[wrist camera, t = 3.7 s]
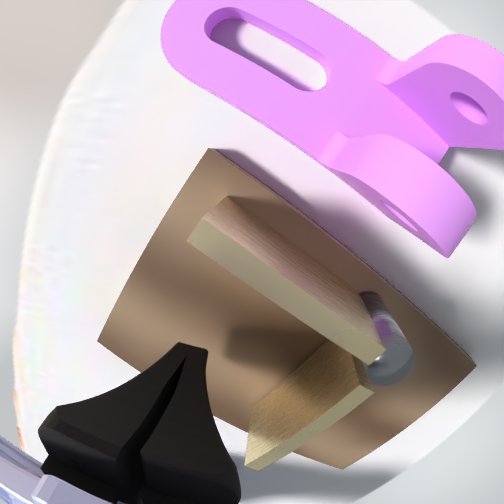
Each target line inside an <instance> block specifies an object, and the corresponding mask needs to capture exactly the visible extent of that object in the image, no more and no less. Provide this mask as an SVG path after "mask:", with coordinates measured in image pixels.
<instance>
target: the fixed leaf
mask: <svg viewBox="0 0 504 504" xmlns="http://www.w3.org/2000/svg"><path fill="white" fill-rule="evenodd" d="M187 242H188V243H190V244H191V245H192V246H194V247H195V248H197V249H198V250H199V251H201V252H202V253H204V254H205V255H207V256H208V257H209V258H211V259H212V260H214V261H215V262H216V263H218V264H219V265H221V266H222V267H224V268H225V269H226V270H228V271H229V272H231V273H232V274H234V275H235V276H236V277H238V278H239V279H241V280H242V281H244V282H245V283H246V284H248V285H249V286H251V287H252V288H254V289H255V290H257V291H258V292H260V293H261V294H262V295H264V296H265V297H267V298H268V299H270V300H271V301H273V302H274V303H276V304H277V305H279V306H280V307H281V308H283V309H284V310H286V311H287V312H289V313H290V314H292V315H293V316H295V317H296V318H298V319H299V320H301V321H302V322H304V323H305V324H307V325H308V326H310V327H311V328H313V329H314V330H316V331H317V332H319V333H320V334H322V335H323V336H325V337H326V338H328V339H329V340H331V341H332V342H334V343H335V344H337V345H339V346H340V347H342V348H343V349H345V350H346V351H348V352H349V353H351V354H352V355H354V356H355V357H357V358H359V359H360V360H362V361H363V364H364V367H365V370H366V373H367V376H368V378H369V380H370V381H371V382H372V383H373V384H375V385H378V386H389V385H393V384H396V383H398V382H400V381H401V380H403V379H404V378H405V377H407V376H408V375H409V373H410V372H411V371H412V369H413V368H414V365H415V361H416V357H415V354H414V352H413V350H412V348H411V346H410V345H409V343H408V341H407V340H406V338H405V336H404V334H403V333H402V331H401V329H400V328H399V326H398V324H397V323H396V321H395V319H394V318H393V316H392V314H391V313H390V311H389V309H388V308H387V306H386V304H385V303H384V301H383V300H382V298H381V297H380V296H379V295H378V294H377V293H375V292H372V291H364V292H361V293H358V292H357V291H356V290H354V289H353V288H352V287H350V286H349V285H348V284H346V283H345V282H344V281H343V280H341V279H340V278H339V277H337V276H336V275H335V274H333V273H332V272H331V271H329V270H328V269H327V268H326V267H324V266H323V265H322V264H320V263H319V262H318V261H316V260H315V259H314V258H312V257H311V256H310V255H308V254H307V253H306V252H304V251H303V250H302V249H300V248H299V247H298V246H296V245H295V244H294V243H292V242H291V241H290V240H288V239H287V238H286V237H284V236H283V235H281V234H280V233H279V232H277V231H276V230H275V229H273V228H272V227H271V226H269V225H268V224H267V223H265V222H264V221H262V220H261V219H260V218H258V217H257V216H256V215H254V214H253V213H251V212H250V211H249V210H247V209H246V208H244V207H243V206H242V205H240V204H239V203H238V202H236V201H235V200H233V199H232V198H231V197H229V196H228V195H227V196H226V197H225V198H224V199H223V200H221V201H220V202H219V203H218V204H217V205H216V206H215V207H213V208H212V209H211V210H210V211H209V212H208V213H207V214H205V215H204V216H203V217H202V218H201V220H200V221H199V222H198V224H197V225H196V227H195V228H194V230H193V231H192V233H191V234H190V236H189V237H188V239H187Z"/></svg>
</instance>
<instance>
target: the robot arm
mask: <svg viewBox="0 0 504 504" xmlns="http://www.w3.org/2000/svg"><path fill="white" fill-rule="evenodd" d="M208 353H209V352H208V350H207V349H204V348H200V347H196V346H192V345H189V344H185V343H181V342H178V343H176V344H175V345H174V346H173V347H172V348H171V349H170V350H169V351H168V352H167V353H166V354H165V355H163V356H162V357H161V358H160V359H159V360H158V361H156V362H155V363H154V364H153V365H151V366H150V367H149V368H147V369H146V370H145V371H143V372H142V373H140V374H139V375H137V376H136V377H134V378H133V379H131V380H129V381H128V382H126V383H124V384H122V385H121V386H119V387H117V388H115V389H112V390H110V391H108V392H106V393H104V394H101V395H99V396H96V397H93V398H90V399H87V400H84V401H80V402H76V403H71V404H66V405H61V406H56V408H55V409H54V410H53V411H52V412H51V413H50V414H49V415H48V416H47V418H46V419H45V420H44V422H43V423H42V425H41V426H40V427H39V429H38V434H39V437H40V440H41V441H42V443H43V445H44V447H45V449H46V451H47V453H48V454H49V455H48V457H47V458H46V460H45V461H44V463H43V464H42V463H41V462H39V461H37V460H36V459H34V458H33V457H31V456H29V455H28V454H26V453H25V452H23V451H22V450H20V449H19V448H17V447H16V446H14V445H13V444H12V443H10V442H9V441H7V440H6V439H5V438H3V437H2V436H0V498H1V499H3V500H4V501H5V502H6V503H8V504H238V503H239V501H240V499H241V486H240V481H239V477H238V473H237V468H236V466H235V464H234V462H233V461H232V459H231V457H230V455H229V454H228V452H227V450H226V448H225V446H224V444H223V442H222V439H221V437H220V434H219V432H218V429H217V427H216V424H215V421H214V418H213V414H212V411H211V407H210V402H209V397H208V391H207V383H206V365H207V359H208Z"/></svg>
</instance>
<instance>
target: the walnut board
mask: <svg viewBox="0 0 504 504" xmlns="http://www.w3.org/2000/svg"><path fill="white" fill-rule="evenodd" d="M227 195H228V196H229V197H231V198H232V199H233V200H235V201H236V202H238V203H239V204H240V205H242V206H243V207H244V208H246V209H247V210H249V211H250V212H251V213H253V214H254V215H256V216H257V217H258V218H260V219H261V220H262V221H264V222H265V223H267V224H268V225H269V226H271V227H272V228H273V229H275V230H276V231H277V232H279V233H280V234H281V235H283V236H284V237H286V238H287V239H288V240H290V241H291V242H292V243H294V244H295V245H296V246H298V247H299V248H300V249H302V250H303V251H304V252H306V253H307V254H308V255H310V256H311V257H312V258H314V259H315V260H316V261H318V262H319V263H320V264H322V265H323V266H324V267H326V268H327V269H328V270H329V271H331V272H332V273H333V274H335V275H336V276H337V277H339V278H340V279H341V280H343V281H344V282H345V283H346V284H348V285H349V286H350V287H352V288H353V289H354V290H356V291H357V292H358V293H361V292H364V291H372V292H375V293H377V294H378V295H379V296H380V297H381V298H382V300H383V301H384V303H385V304H386V306H387V308H388V309H389V311H390V313H391V314H392V316H393V318H394V319H395V321H396V323H397V324H398V326H399V328H400V329H401V331H402V333H403V334H404V336H405V338H406V340H407V341H408V343H409V345H410V346H411V348H412V350H413V352H414V354H415V357H416V361H415V365H414V368H413V369H412V371H411V372H410V373H409V375H408V376H407V377H405V378H404V379H403V380H401V381H400V382H398V383H396V384H393V385H389V386H378V385H375V384H373V383H372V382H371V385H372V388H373V391H374V393H373V394H372V395H371V396H370V397H368V398H367V399H366V400H365V401H363V402H362V403H361V404H360V405H358V406H357V407H356V408H354V409H353V410H352V411H351V412H349V413H348V414H347V415H345V416H344V417H343V418H341V419H340V420H338V421H337V422H336V423H334V424H333V425H332V426H330V427H329V428H327V429H326V430H324V431H323V432H322V433H320V434H319V435H317V436H316V437H314V438H313V439H311V440H310V441H308V442H307V443H305V444H303V445H302V446H300V447H299V448H297V449H296V450H294V451H292V452H294V453H297V454H299V455H302V456H305V457H307V458H310V459H313V460H316V461H319V462H321V463H324V464H327V465H330V466H333V467H336V468H339V469H344V468H346V467H348V466H350V465H351V464H353V463H355V462H356V461H358V460H360V459H361V458H363V457H364V456H366V455H368V454H369V453H371V452H372V451H374V450H375V449H377V448H378V447H380V446H381V445H383V444H384V443H386V442H387V441H389V440H390V439H392V438H393V437H394V436H396V435H397V434H399V433H400V432H401V431H403V430H404V429H405V428H407V427H408V426H409V425H411V424H412V423H413V422H415V421H416V420H417V419H418V418H420V417H421V416H422V415H423V414H425V413H426V412H427V411H428V410H430V409H431V408H432V407H433V406H434V405H435V404H437V403H438V402H439V401H440V400H441V399H442V398H444V397H445V396H446V395H447V394H448V393H449V392H450V391H451V390H452V389H454V388H455V387H456V386H457V385H458V384H459V383H460V382H461V381H462V380H463V379H464V378H465V377H466V376H467V375H468V374H469V373H470V372H471V371H472V370H473V369H474V368H475V367H476V364H475V363H474V362H473V360H472V359H471V358H470V356H469V355H468V354H467V353H466V352H464V351H463V350H462V349H461V348H460V347H459V346H458V345H457V344H456V343H455V342H454V341H453V340H452V339H451V338H450V337H449V336H448V335H447V334H446V333H445V332H443V331H442V330H441V329H440V328H439V327H438V326H437V325H436V324H435V323H434V322H433V321H432V320H430V319H429V318H428V317H427V316H426V315H425V314H424V313H423V312H422V311H421V310H419V309H418V308H417V307H416V306H415V305H414V304H413V303H412V302H410V301H409V300H408V299H407V298H406V297H405V296H404V295H403V294H401V293H400V292H399V291H398V290H397V289H396V288H394V287H393V286H392V285H391V284H390V283H389V282H387V281H386V280H385V279H384V278H383V277H382V276H380V275H379V274H378V273H377V272H376V271H375V270H373V269H372V268H371V267H370V266H369V265H367V264H366V263H365V262H364V261H363V260H361V259H360V258H359V257H358V256H356V255H355V254H354V253H353V252H352V251H350V250H349V249H348V248H347V247H345V246H344V245H343V244H342V243H340V242H339V241H338V240H337V239H335V238H334V237H333V236H332V235H330V234H329V233H328V232H327V231H325V230H324V229H323V228H322V227H320V226H319V225H318V224H316V223H315V222H314V221H313V220H311V219H310V218H309V217H307V216H306V215H305V214H303V213H302V212H301V211H300V210H298V209H297V208H296V207H294V206H293V205H292V204H290V203H289V202H288V201H286V200H285V199H284V198H282V197H281V196H280V195H278V194H277V193H276V192H274V191H273V190H271V189H270V188H269V187H267V186H266V185H265V184H263V183H262V182H261V181H259V180H258V179H256V178H255V177H254V176H252V175H251V174H249V173H248V172H247V171H245V170H244V169H242V168H241V167H240V166H238V165H237V164H235V163H234V162H232V161H231V160H230V159H228V158H227V157H225V156H224V155H222V154H221V153H220V152H218V151H217V150H215V149H213V148H208V150H207V151H206V153H205V154H204V156H203V157H202V159H201V160H200V161H199V163H198V164H197V166H196V167H195V169H194V170H193V172H192V173H191V175H190V176H189V178H188V180H187V181H186V183H185V184H184V186H183V187H182V189H181V190H180V192H179V193H178V195H177V197H176V198H175V200H174V201H173V203H172V205H171V206H170V208H169V209H168V211H167V213H166V214H165V216H164V218H163V219H162V221H161V223H160V224H159V226H158V228H157V229H156V231H155V233H154V234H153V236H152V238H151V239H150V241H149V243H148V245H147V246H146V248H145V250H144V252H143V253H142V255H141V257H140V259H139V261H138V262H137V264H136V266H135V268H134V270H133V271H132V273H131V275H130V277H129V279H128V281H127V282H126V284H125V286H124V288H123V290H122V292H121V294H120V296H119V298H118V300H117V302H116V304H115V305H114V307H113V309H112V311H111V313H110V315H109V317H108V319H107V321H106V324H105V326H104V328H103V330H102V332H101V334H100V336H99V338H98V340H97V341H98V342H99V343H100V344H102V345H103V346H104V347H106V348H107V349H108V350H110V351H111V352H113V353H114V354H115V355H117V356H118V357H120V358H121V359H122V360H124V361H125V362H127V363H128V364H129V365H131V366H132V367H134V368H135V369H137V370H138V371H140V372H141V373H142V372H143V371H145V370H146V369H147V368H149V367H150V366H151V365H153V364H154V363H155V362H156V361H158V360H159V359H160V358H161V357H162V356H163V355H165V354H166V353H167V352H168V351H169V350H170V349H171V348H172V347H173V346H174V345H175V344H176V343H178V342H181V343H185V344H189V345H192V346H196V347H200V348H204V349H207V350H208V352H209V353H208V359H207V365H206V383H207V391H208V397H209V402H210V407H211V411H212V414H213V415H214V416H215V417H217V418H219V419H221V420H223V421H225V422H227V423H229V424H231V425H233V426H235V427H237V428H239V429H241V430H243V431H246V432H248V433H249V425H250V417H251V409H252V407H254V406H255V405H256V404H257V403H258V402H260V401H261V400H262V399H263V398H264V397H266V396H267V395H268V394H269V393H270V392H272V391H273V390H274V389H275V388H276V387H277V386H278V385H280V384H281V383H282V382H283V381H284V380H285V379H286V378H288V377H289V376H290V375H291V374H292V373H293V372H294V371H295V370H296V369H298V368H299V367H300V366H301V365H302V364H303V363H304V362H305V361H306V360H307V359H308V358H309V357H310V356H312V355H313V354H314V353H315V352H316V351H317V350H318V349H319V348H320V347H321V346H322V345H323V344H324V343H325V342H326V341H327V340H328V338H326V337H325V336H323V335H322V334H320V333H319V332H317V331H316V330H314V329H313V328H311V327H310V326H308V325H307V324H305V323H304V322H302V321H301V320H299V319H298V318H296V317H295V316H293V315H292V314H290V313H289V312H287V311H286V310H284V309H283V308H281V307H280V306H279V305H277V304H276V303H274V302H273V301H271V300H270V299H268V298H267V297H265V296H264V295H262V294H261V293H260V292H258V291H257V290H255V289H254V288H252V287H251V286H249V285H248V284H246V283H245V282H244V281H242V280H241V279H239V278H238V277H236V276H235V275H234V274H232V273H231V272H229V271H228V270H226V269H225V268H224V267H222V266H221V265H219V264H218V263H216V262H215V261H214V260H212V259H211V258H209V257H208V256H207V255H205V254H204V253H202V252H201V251H199V250H198V249H197V248H195V247H194V246H192V245H191V244H190V243H188V242H187V239H188V237H189V236H190V234H191V233H192V231H193V230H194V228H195V227H196V225H197V224H198V222H199V221H200V220H201V218H202V217H203V216H204V215H205V214H207V213H208V212H209V211H210V210H211V209H212V208H213V207H215V206H216V205H217V204H218V203H219V202H220V201H221V200H223V199H224V198H225V197H226V196H227Z"/></svg>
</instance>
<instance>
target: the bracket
mask: <svg viewBox="0 0 504 504" xmlns="http://www.w3.org/2000/svg"><path fill="white" fill-rule="evenodd" d="M231 18H236V19H241V20H244V21H246V22H248V23H250V24H252V25H254V26H256V27H258V28H260V29H262V30H263V31H265V32H267V33H269V34H271V35H273V36H275V37H277V38H278V39H280V40H282V41H284V42H285V43H287V44H289V45H291V46H292V47H294V48H296V49H297V50H299V51H301V52H302V53H304V54H306V55H307V56H309V57H310V58H312V59H314V60H315V61H317V62H318V63H319V64H320V65H321V66H322V67H323V68H324V70H325V72H326V76H327V81H326V85H325V86H324V87H323V88H321V89H319V90H316V91H302V90H299V89H297V88H295V87H293V86H292V85H290V84H289V83H287V82H285V81H284V80H282V79H281V78H279V77H277V76H276V75H274V74H272V73H271V72H269V71H267V70H266V69H264V68H262V67H260V66H259V65H257V64H255V63H253V62H252V61H250V60H248V59H246V58H244V57H242V56H241V55H239V54H237V53H235V52H233V51H231V50H229V49H227V48H225V47H223V46H221V45H219V44H217V43H215V42H213V41H212V40H211V32H212V30H213V28H214V27H215V26H216V25H217V24H218V23H220V22H221V21H223V20H226V19H231ZM161 45H162V49H163V52H164V55H165V57H166V58H167V60H168V62H169V63H170V64H171V66H172V67H173V68H174V69H175V70H176V71H177V72H179V73H180V74H181V75H183V76H184V77H185V78H187V79H188V80H189V81H191V82H192V83H194V84H196V85H198V86H199V87H201V88H203V89H205V90H207V91H208V92H210V93H212V94H214V95H215V96H217V97H219V98H220V99H222V100H224V101H226V102H227V103H229V104H231V105H232V106H234V107H236V108H237V109H239V110H241V111H242V112H244V113H245V114H247V115H249V116H250V117H252V118H254V119H255V120H257V121H258V122H260V123H261V124H263V125H264V126H266V127H268V128H269V129H271V130H272V131H274V132H275V133H277V134H278V135H280V136H281V137H283V138H284V139H286V140H287V141H289V142H290V143H292V144H293V145H294V146H296V147H297V148H299V149H300V150H302V151H303V152H304V153H306V154H307V155H309V156H310V157H311V158H313V159H314V160H316V161H317V162H318V163H320V164H321V165H322V166H324V167H325V168H327V169H328V170H329V171H331V172H332V173H333V174H335V175H336V176H337V177H338V178H340V179H341V180H342V181H344V182H345V183H346V184H348V185H349V186H350V187H351V188H353V189H354V190H355V191H356V192H358V193H359V194H360V195H361V196H363V197H364V198H365V199H366V200H368V201H369V202H370V203H371V204H373V205H374V206H375V207H376V208H377V209H379V210H380V211H381V212H382V213H383V214H385V215H386V216H387V217H388V218H390V219H391V220H393V221H394V222H396V223H397V224H399V225H400V226H402V227H403V228H405V229H406V230H408V231H409V232H410V233H412V234H413V235H415V236H416V237H418V238H419V239H420V240H422V241H423V242H425V243H426V244H428V245H429V246H430V247H432V248H433V249H434V250H436V251H437V252H439V253H440V254H441V255H443V256H444V257H446V258H449V257H450V255H451V254H452V253H453V251H454V250H455V249H456V247H457V246H458V244H459V243H460V241H461V240H462V239H463V237H464V236H465V234H466V233H467V231H468V230H469V228H470V227H471V225H472V224H473V222H474V221H475V219H476V218H477V211H476V208H475V206H474V204H473V202H472V201H471V199H470V198H469V196H468V195H467V194H466V192H465V191H464V190H463V189H462V187H461V186H460V185H459V184H458V183H457V182H456V181H455V180H454V179H453V178H452V177H451V176H450V175H449V174H448V173H447V172H446V171H445V170H444V169H443V168H441V167H440V166H439V165H438V164H439V163H440V161H441V159H442V158H443V156H444V155H445V153H446V152H447V150H448V148H449V147H465V148H481V149H494V150H504V55H503V54H502V53H501V52H499V51H498V50H497V49H495V48H494V47H492V46H490V45H489V44H487V43H485V42H483V41H481V40H478V39H476V38H473V37H470V36H465V35H460V34H453V35H447V36H445V37H443V38H441V39H439V40H438V41H436V42H434V43H433V44H431V45H430V46H428V47H426V48H425V49H423V50H422V51H420V52H418V53H417V54H415V55H414V56H412V57H411V58H409V59H408V60H406V61H399V60H397V59H395V58H393V57H391V56H390V55H389V54H387V53H386V52H385V51H384V50H382V49H381V48H380V47H378V46H377V45H376V44H374V43H373V42H371V41H370V40H369V39H367V38H366V37H364V36H363V35H362V34H360V33H359V32H357V31H356V30H354V29H353V28H351V27H350V26H348V25H347V24H345V23H343V22H342V21H340V20H339V19H337V18H335V17H334V16H332V15H331V14H329V13H327V12H325V11H324V10H322V9H320V8H319V7H317V6H315V5H313V4H311V3H310V2H308V1H306V0H176V1H175V2H174V3H173V4H172V6H171V7H170V9H169V10H168V12H167V14H166V16H165V18H164V21H163V24H162V28H161Z"/></svg>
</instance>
